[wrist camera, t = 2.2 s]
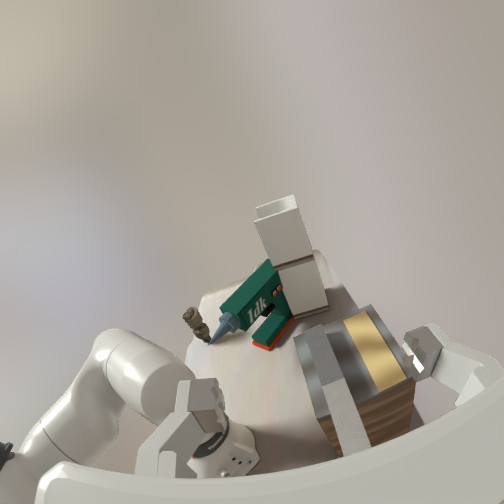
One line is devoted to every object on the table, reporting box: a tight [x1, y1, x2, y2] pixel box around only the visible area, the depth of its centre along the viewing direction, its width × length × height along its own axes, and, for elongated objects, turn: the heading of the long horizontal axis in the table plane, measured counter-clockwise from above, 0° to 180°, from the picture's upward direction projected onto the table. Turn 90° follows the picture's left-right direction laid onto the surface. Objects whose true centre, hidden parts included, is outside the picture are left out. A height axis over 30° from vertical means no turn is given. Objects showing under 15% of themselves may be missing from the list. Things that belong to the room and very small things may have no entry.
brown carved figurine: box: [183, 307, 211, 342], centre depth 89 cm, size 6×6×15 cm
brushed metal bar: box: [303, 324, 371, 456], centre depth 30 cm, size 23×3×2 cm, turn 5°
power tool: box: [208, 259, 294, 351], centre depth 76 cm, size 32×7×20 cm, turn 139°
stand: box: [293, 304, 416, 458], centre depth 41 cm, size 16×14×26 cm
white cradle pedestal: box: [254, 195, 330, 319], centre depth 80 cm, size 11×11×35 cm
